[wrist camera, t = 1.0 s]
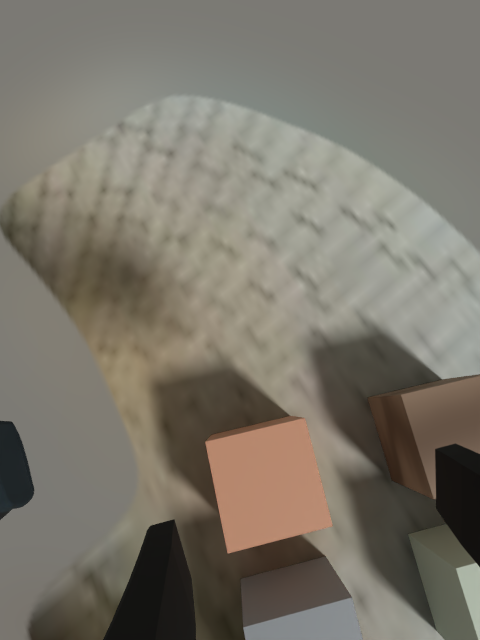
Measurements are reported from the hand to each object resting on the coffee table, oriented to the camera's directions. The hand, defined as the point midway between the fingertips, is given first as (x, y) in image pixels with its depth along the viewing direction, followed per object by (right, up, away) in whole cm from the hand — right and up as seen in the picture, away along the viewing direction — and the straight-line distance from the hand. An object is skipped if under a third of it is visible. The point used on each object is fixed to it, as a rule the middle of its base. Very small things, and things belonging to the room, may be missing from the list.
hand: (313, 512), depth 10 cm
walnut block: (+9, -2, +14) cm, 16 cm away
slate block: (+1, -11, +11) cm, 16 cm away
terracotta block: (-1, -4, +13) cm, 14 cm away
